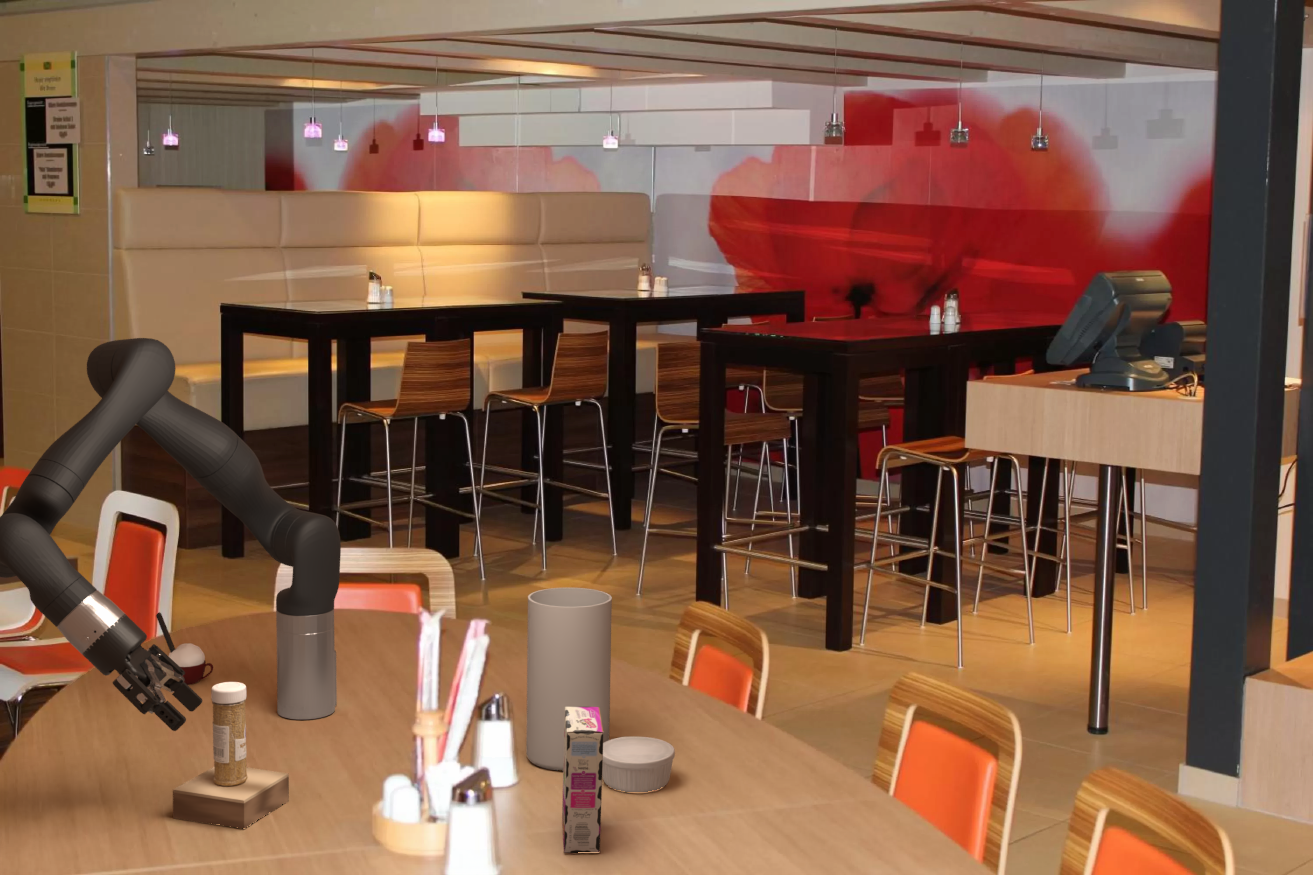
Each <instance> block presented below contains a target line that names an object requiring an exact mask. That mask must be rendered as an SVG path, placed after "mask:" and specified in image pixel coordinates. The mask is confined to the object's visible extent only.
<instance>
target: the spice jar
mask: <svg viewBox="0 0 1313 875" xmlns="http://www.w3.org/2000/svg"><path fill="white" fill-rule="evenodd" d="M246 699H247V686H246V684H244V683H243V682H238V681H224V682H220V683H216V684H214V685H213V686H212V687H211V698H210V700H211V703H212V705H213V706H212V747H213V749H212V750H213V751H212V752H213V767H214V770H215V771H214V782H215V783H216V784H218V785H222V786H235V785H239V784H241V783H243V782H245V781H246V780H247V778H248V777H247V772H246V767H247V757H248V756H247V724H246V701H247V700H246Z"/></svg>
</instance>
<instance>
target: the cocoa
mask: <svg viewBox="0 0 1313 875" xmlns="http://www.w3.org/2000/svg"><path fill="white" fill-rule="evenodd" d="M155 618H156V619H157V622H158V624H159V627H160V630H161V632H162V634H163V637H164V639H165V642H166V644H167V647H168V649H169V653H168V656H169V657H170V658H171V659H172V660H173V661H174V662H175V663H176V664H177V665H178V666H179V667H181V668H182V669H183V670H184V672H185V674H184V675H183V677H184V679H185V681H184V682H185V683H186V684H187V685H188V686H190V685H194V684H197V683H199V681H202V680H204V679H206V678H207V677H209V676H210V675H212V673H213V671H214V664H212V663H211V662H207V663H206V659H205V658H206V657H205V653H204V651H203V649H201V647H200V646H199V645H195V644H194V643H190V642H188V643H187V642H186V643H181V644H179V645H178V646H177V647H175V645H174V642H173V641H172V638H171V637H172V636H171V635H170V632H169V629H168V627H167V625H166V622H165V620H164V618H163V615H162V612H160V611H159V612H158V613H156V615H155ZM206 667H210V671H209V672H208V673H207V674H205V671H206ZM173 671H174V670H173ZM174 672H175V671H174ZM204 674H205V675H204Z"/></svg>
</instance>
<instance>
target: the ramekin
mask: <svg viewBox="0 0 1313 875" xmlns="http://www.w3.org/2000/svg"><path fill="white" fill-rule="evenodd" d="M675 756H676V751H675V747H674V746H673V745H672V744H671V743H669V742H668V741H665V740H663V739H659V738H657V737H650V736H649V737H647V736H621V737H620V736H619V737H617V738H611V739H609V741H606V742H604V743H603V770H602V781H603V783H604V784H605V785H606V786H607V785H608V786H609V787H611V788H613V789H616V790H621V791H625V792H648V791H652V790H657V789H660V788H661V787H664V786H665V785H666V786H667V785H668V783H669V781H670V778H671V774H672V767H673V762H674V758H675ZM608 786H607V787H608ZM666 786H665V787H666ZM609 787H608V788H609ZM665 787H664V788H665ZM611 788H610V789H611ZM613 789H612V790H613Z"/></svg>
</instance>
